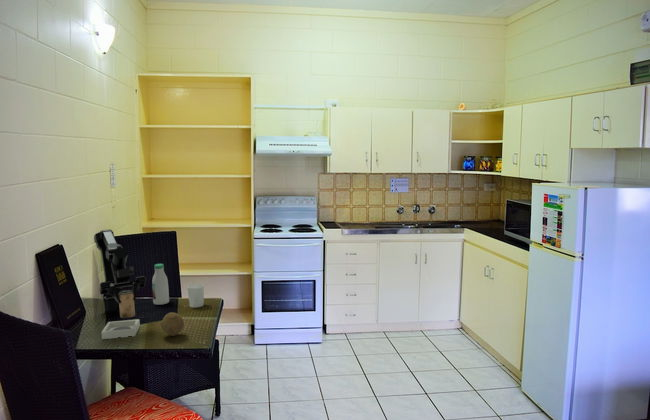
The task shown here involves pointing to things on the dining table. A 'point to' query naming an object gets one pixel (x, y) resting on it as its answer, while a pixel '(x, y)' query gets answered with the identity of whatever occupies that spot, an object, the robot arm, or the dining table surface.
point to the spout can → (126, 304)
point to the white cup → (196, 295)
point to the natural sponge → (172, 323)
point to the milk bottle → (160, 286)
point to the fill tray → (120, 329)
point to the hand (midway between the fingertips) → (127, 301)
